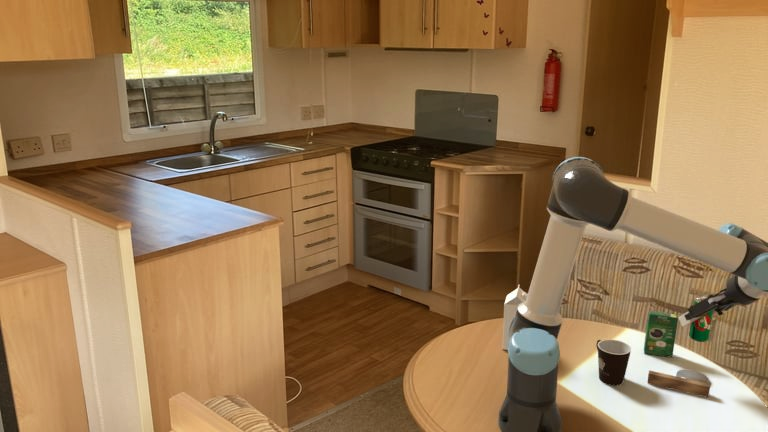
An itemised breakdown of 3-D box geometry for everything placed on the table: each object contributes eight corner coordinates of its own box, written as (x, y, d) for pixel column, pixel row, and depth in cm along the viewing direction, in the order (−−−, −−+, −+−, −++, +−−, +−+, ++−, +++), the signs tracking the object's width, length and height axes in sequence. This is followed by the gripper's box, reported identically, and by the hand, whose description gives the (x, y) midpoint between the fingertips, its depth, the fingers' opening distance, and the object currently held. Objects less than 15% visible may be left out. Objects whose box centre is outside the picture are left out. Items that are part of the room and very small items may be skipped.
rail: (647, 383, 174) (648, 373, 174) (648, 380, 176) (649, 370, 175) (708, 397, 167) (709, 387, 166) (708, 394, 169) (710, 384, 168)
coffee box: (672, 353, 190) (677, 313, 186) (673, 358, 187) (678, 317, 184) (643, 349, 193) (648, 309, 189) (643, 354, 190) (648, 313, 186)
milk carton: (502, 349, 194) (504, 291, 188) (504, 339, 200) (507, 283, 195) (526, 353, 192) (529, 294, 186) (528, 342, 198) (531, 285, 193)
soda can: (695, 332, 175) (701, 292, 172) (713, 339, 171) (719, 298, 168) (684, 337, 173) (689, 296, 169) (702, 344, 169) (708, 302, 165)
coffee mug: (630, 389, 172) (633, 355, 169) (596, 386, 173) (599, 353, 170) (623, 367, 183) (626, 335, 180) (592, 364, 184) (594, 333, 181)
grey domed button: (674, 382, 175) (675, 379, 174) (677, 369, 181) (678, 366, 181) (707, 389, 171) (707, 387, 171) (709, 376, 177) (709, 373, 177)
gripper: (729, 305, 150) (669, 338, 170) (785, 293, 156) (721, 327, 176) (714, 276, 154) (657, 312, 173) (769, 266, 160) (708, 302, 179)
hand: (689, 319), depth 174 cm, fingers closed on soda can, 5 cm apart
